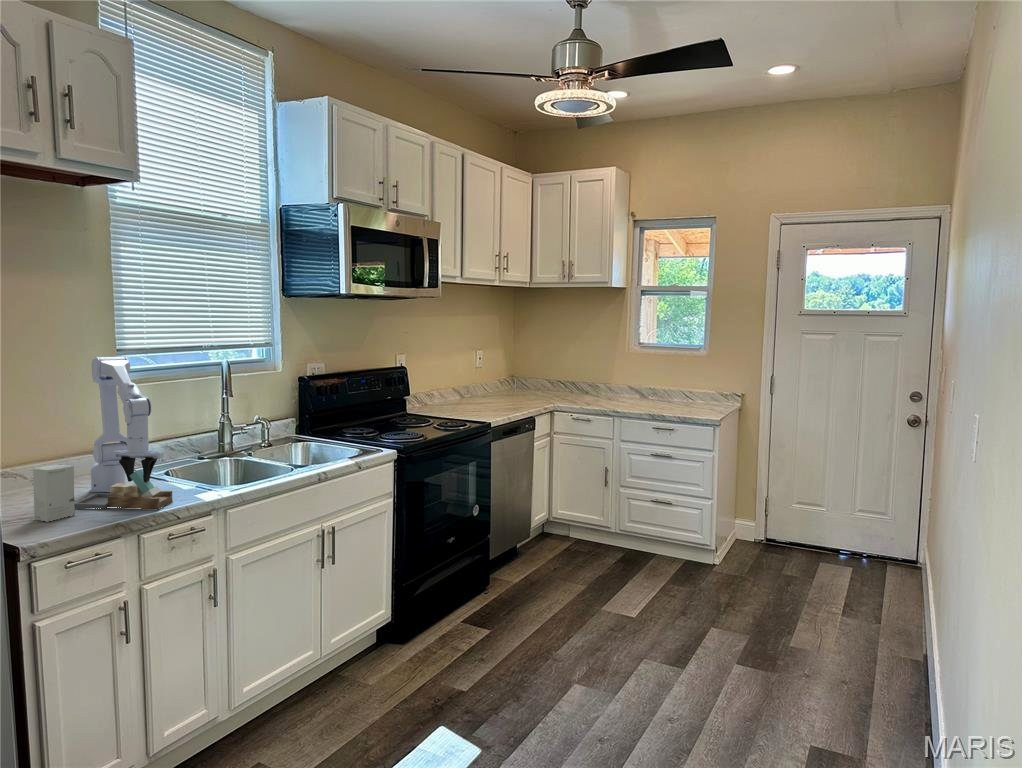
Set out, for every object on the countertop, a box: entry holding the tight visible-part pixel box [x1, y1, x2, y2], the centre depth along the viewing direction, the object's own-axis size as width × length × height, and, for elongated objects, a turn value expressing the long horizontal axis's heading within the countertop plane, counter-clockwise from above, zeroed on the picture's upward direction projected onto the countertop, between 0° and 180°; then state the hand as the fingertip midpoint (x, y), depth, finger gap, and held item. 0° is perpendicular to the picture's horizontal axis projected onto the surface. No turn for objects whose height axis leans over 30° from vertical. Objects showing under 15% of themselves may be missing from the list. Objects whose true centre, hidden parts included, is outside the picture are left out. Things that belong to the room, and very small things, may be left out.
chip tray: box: [74, 492, 111, 510], centre depth 211 cm, size 10×12×2 cm
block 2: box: [124, 483, 143, 497], centre depth 211 cm, size 4×4×4 cm
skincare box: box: [32, 463, 76, 523], centre depth 196 cm, size 8×6×15 cm
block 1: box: [109, 483, 130, 496], centre depth 211 cm, size 4×4×4 cm
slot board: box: [108, 490, 173, 510], centre depth 211 cm, size 15×9×4 cm, turn 90°
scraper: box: [130, 469, 162, 497], centre depth 211 cm, size 3×5×9 cm
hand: (138, 481), depth 211 cm, fingers closed on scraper, 4 cm apart
